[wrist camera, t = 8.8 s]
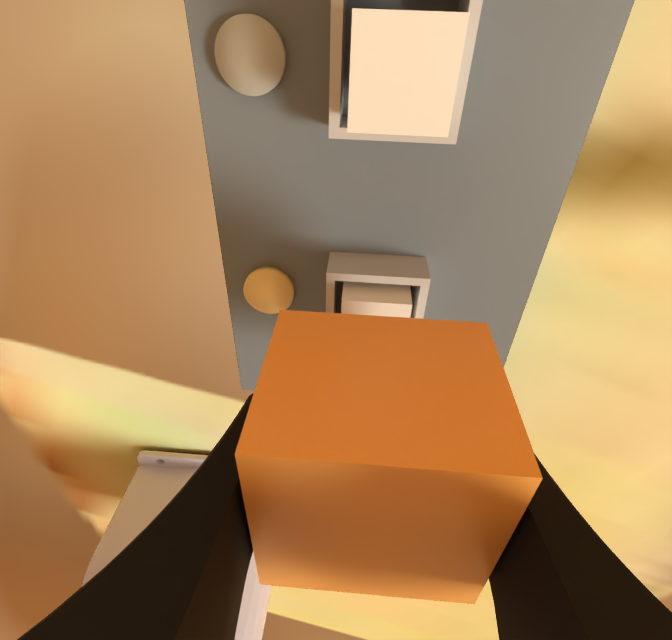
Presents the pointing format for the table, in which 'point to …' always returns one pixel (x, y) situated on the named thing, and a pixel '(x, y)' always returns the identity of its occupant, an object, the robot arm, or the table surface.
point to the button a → (376, 299)
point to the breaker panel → (391, 159)
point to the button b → (404, 71)
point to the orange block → (383, 457)
